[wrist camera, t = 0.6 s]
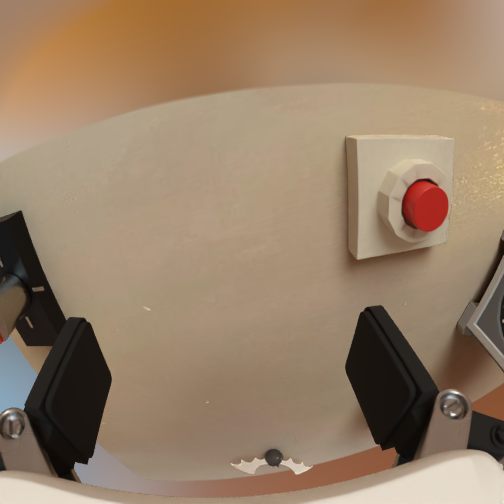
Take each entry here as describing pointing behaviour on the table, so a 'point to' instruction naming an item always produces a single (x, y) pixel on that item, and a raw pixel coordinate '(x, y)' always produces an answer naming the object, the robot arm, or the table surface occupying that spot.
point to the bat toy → (271, 463)
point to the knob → (12, 303)
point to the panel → (29, 283)
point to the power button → (425, 206)
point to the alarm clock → (488, 318)
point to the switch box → (393, 190)
